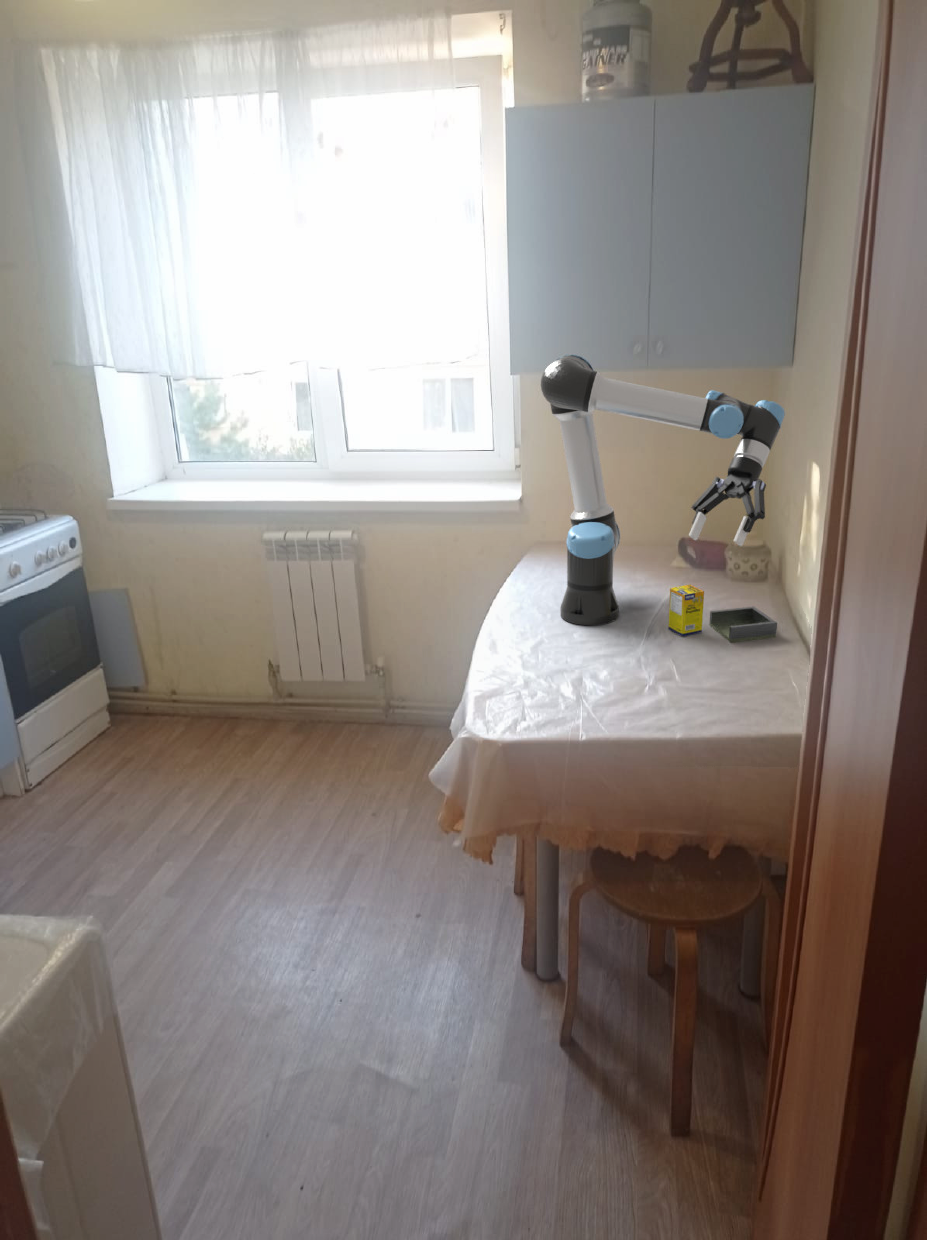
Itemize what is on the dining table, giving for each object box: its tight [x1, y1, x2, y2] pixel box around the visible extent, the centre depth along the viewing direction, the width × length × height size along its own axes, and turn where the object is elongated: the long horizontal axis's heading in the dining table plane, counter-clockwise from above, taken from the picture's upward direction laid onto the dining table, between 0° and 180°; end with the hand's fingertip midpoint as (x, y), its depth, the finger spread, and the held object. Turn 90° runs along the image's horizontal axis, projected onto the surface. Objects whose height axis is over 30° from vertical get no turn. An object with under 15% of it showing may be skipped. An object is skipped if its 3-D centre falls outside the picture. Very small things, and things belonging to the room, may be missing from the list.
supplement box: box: [668, 584, 705, 637], centre depth 215 cm, size 6×6×11 cm
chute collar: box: [708, 606, 778, 644], centre depth 214 cm, size 12×12×4 cm
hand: (714, 540), depth 212 cm, fingers open, 13 cm apart
